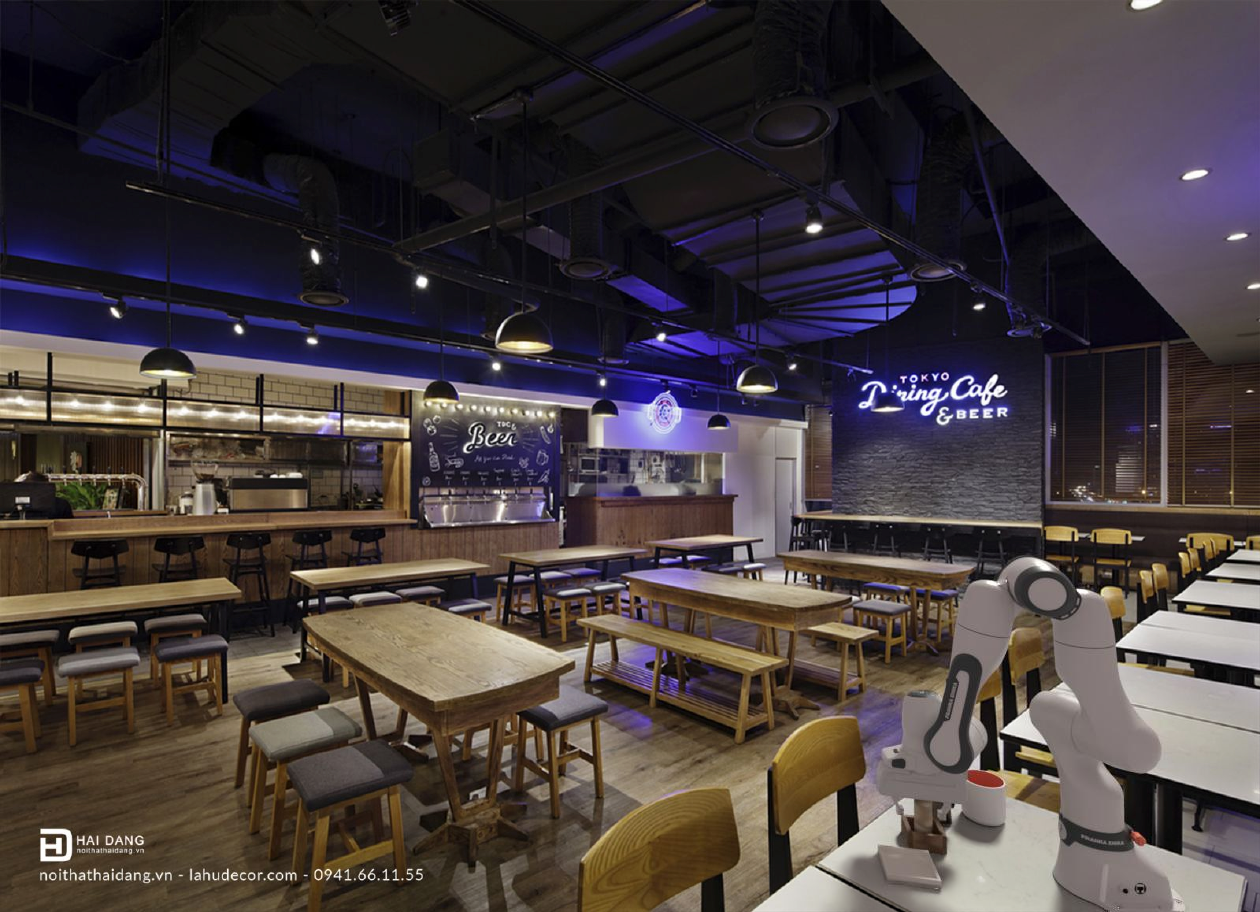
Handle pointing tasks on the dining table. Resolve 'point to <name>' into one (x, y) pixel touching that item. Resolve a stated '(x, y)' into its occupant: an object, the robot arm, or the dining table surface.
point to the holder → (924, 836)
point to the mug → (948, 816)
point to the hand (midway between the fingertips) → (920, 816)
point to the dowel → (922, 816)
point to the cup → (985, 798)
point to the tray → (909, 867)
